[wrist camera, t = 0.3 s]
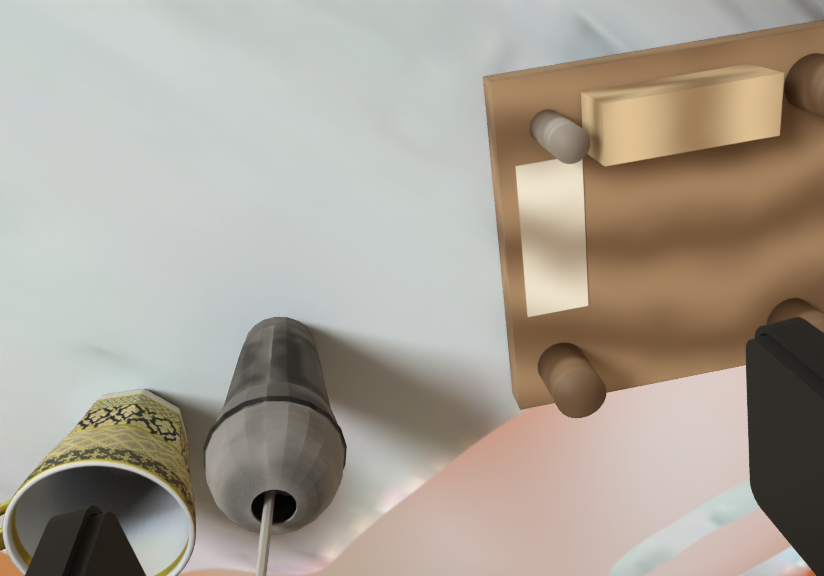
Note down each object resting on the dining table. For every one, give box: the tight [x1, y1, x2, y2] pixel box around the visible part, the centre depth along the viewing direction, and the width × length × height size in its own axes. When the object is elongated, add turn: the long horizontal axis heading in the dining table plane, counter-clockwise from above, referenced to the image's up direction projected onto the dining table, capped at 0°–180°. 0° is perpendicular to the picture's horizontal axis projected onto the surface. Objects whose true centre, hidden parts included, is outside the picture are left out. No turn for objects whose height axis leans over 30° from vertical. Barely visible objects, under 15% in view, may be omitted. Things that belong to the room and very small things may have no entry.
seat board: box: [483, 20, 824, 418], centre depth 47 cm, size 22×22×6 cm
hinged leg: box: [581, 64, 784, 166], centre depth 42 cm, size 10×3×3 cm, turn 98°
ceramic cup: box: [0, 389, 196, 576], centre depth 46 cm, size 13×10×10 cm
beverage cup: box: [204, 317, 347, 576], centre depth 40 cm, size 7×7×20 cm
